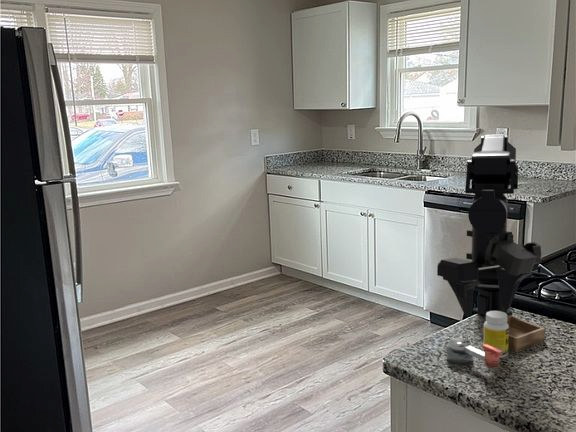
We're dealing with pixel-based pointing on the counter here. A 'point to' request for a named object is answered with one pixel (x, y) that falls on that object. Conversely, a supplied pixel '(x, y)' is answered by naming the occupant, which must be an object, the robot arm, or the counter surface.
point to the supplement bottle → (497, 331)
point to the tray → (523, 334)
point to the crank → (477, 351)
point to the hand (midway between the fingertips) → (487, 312)
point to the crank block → (459, 357)
